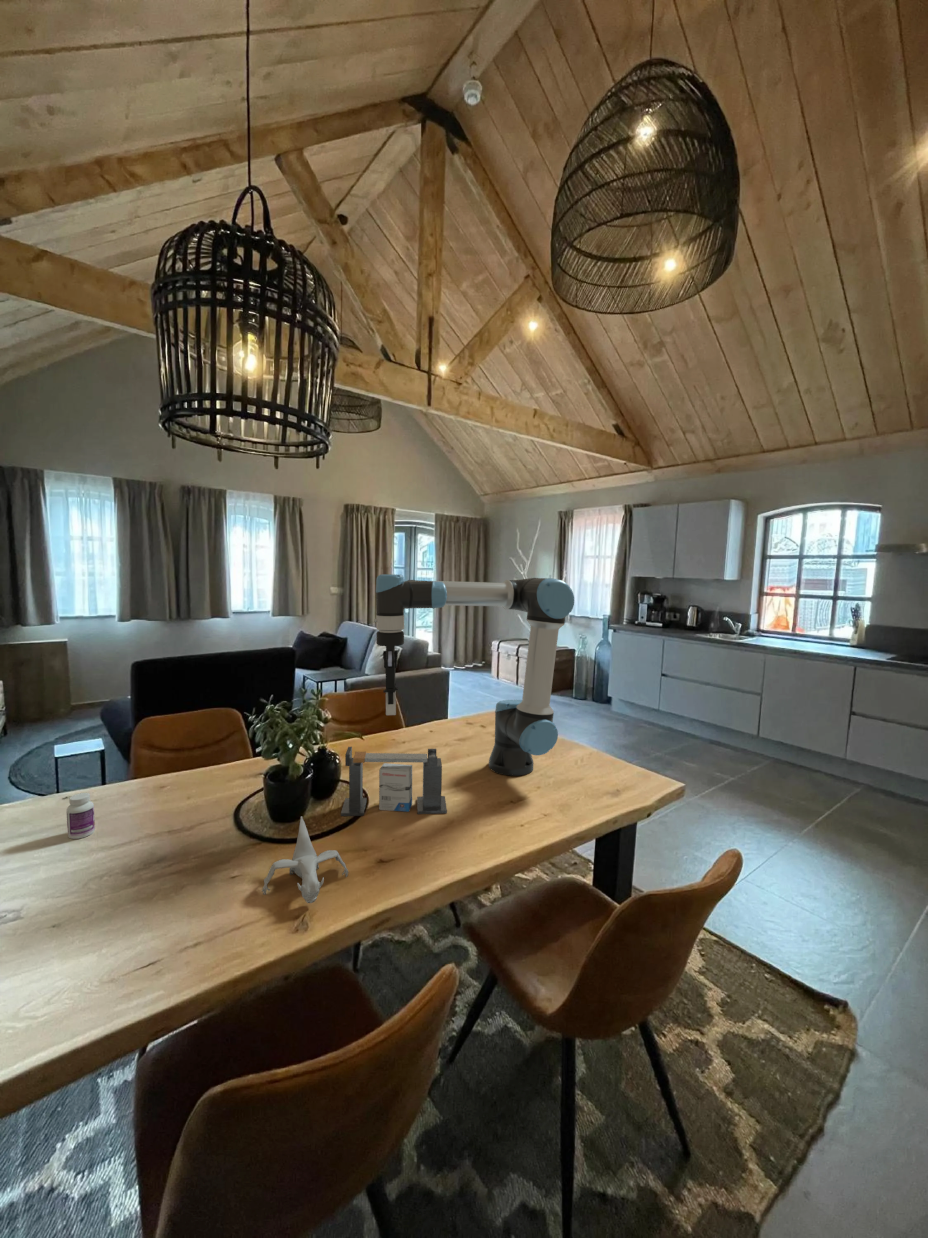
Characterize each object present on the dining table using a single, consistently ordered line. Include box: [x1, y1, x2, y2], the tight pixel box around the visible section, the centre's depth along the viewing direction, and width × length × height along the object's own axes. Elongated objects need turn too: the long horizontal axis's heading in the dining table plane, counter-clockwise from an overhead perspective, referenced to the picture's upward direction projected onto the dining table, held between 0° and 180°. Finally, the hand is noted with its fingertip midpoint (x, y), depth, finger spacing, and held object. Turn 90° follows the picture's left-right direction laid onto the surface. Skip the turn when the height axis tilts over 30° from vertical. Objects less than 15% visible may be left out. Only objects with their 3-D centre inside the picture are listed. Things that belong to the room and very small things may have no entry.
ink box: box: [378, 762, 413, 813], centre depth 140 cm, size 8×5×12 cm, turn 84°
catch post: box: [340, 746, 368, 817], centre depth 139 cm, size 6×9×16 cm, turn 6°
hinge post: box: [416, 748, 448, 815], centre depth 141 cm, size 8×9×16 cm
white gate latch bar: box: [352, 751, 435, 764], centre depth 139 cm, size 22×5×2 cm, turn 96°
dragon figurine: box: [261, 816, 350, 904], centre depth 106 cm, size 15×15×9 cm
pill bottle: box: [66, 792, 96, 840], centre depth 123 cm, size 5×5×10 cm
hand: (390, 714), depth 141 cm, fingers closed
